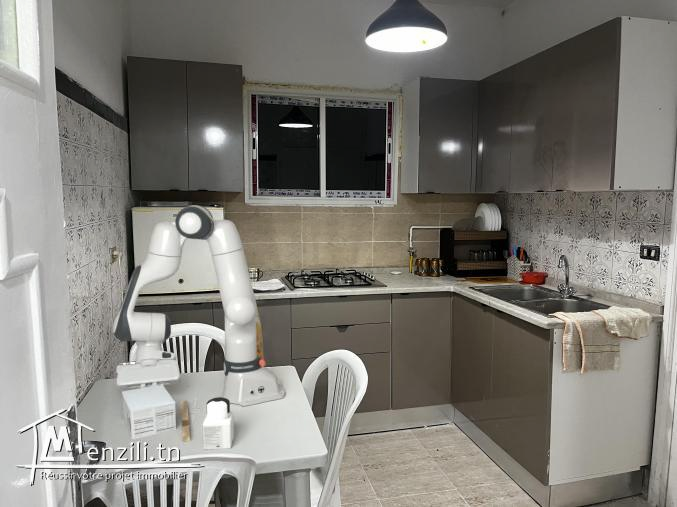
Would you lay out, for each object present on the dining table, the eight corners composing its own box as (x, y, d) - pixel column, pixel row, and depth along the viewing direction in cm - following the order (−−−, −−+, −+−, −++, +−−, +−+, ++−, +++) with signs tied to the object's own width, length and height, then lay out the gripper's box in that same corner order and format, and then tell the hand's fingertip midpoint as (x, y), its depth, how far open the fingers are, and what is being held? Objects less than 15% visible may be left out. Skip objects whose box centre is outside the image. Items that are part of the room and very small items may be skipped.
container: (207, 437, 149) (206, 395, 148) (234, 436, 150) (233, 394, 148) (203, 450, 141) (201, 406, 140) (230, 449, 142) (229, 405, 141)
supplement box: (122, 419, 162) (120, 391, 161) (164, 410, 168) (163, 383, 167) (131, 440, 147) (129, 409, 146) (176, 429, 154) (175, 400, 153)
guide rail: (187, 406, 171) (187, 400, 171) (190, 440, 147) (189, 433, 147) (180, 407, 171) (180, 401, 170) (182, 441, 146) (182, 435, 146)
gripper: (115, 358, 169) (113, 397, 161) (179, 353, 175) (180, 390, 167) (117, 367, 174) (115, 405, 165) (179, 361, 180) (180, 397, 172)
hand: (148, 397), depth 166 cm, fingers closed
